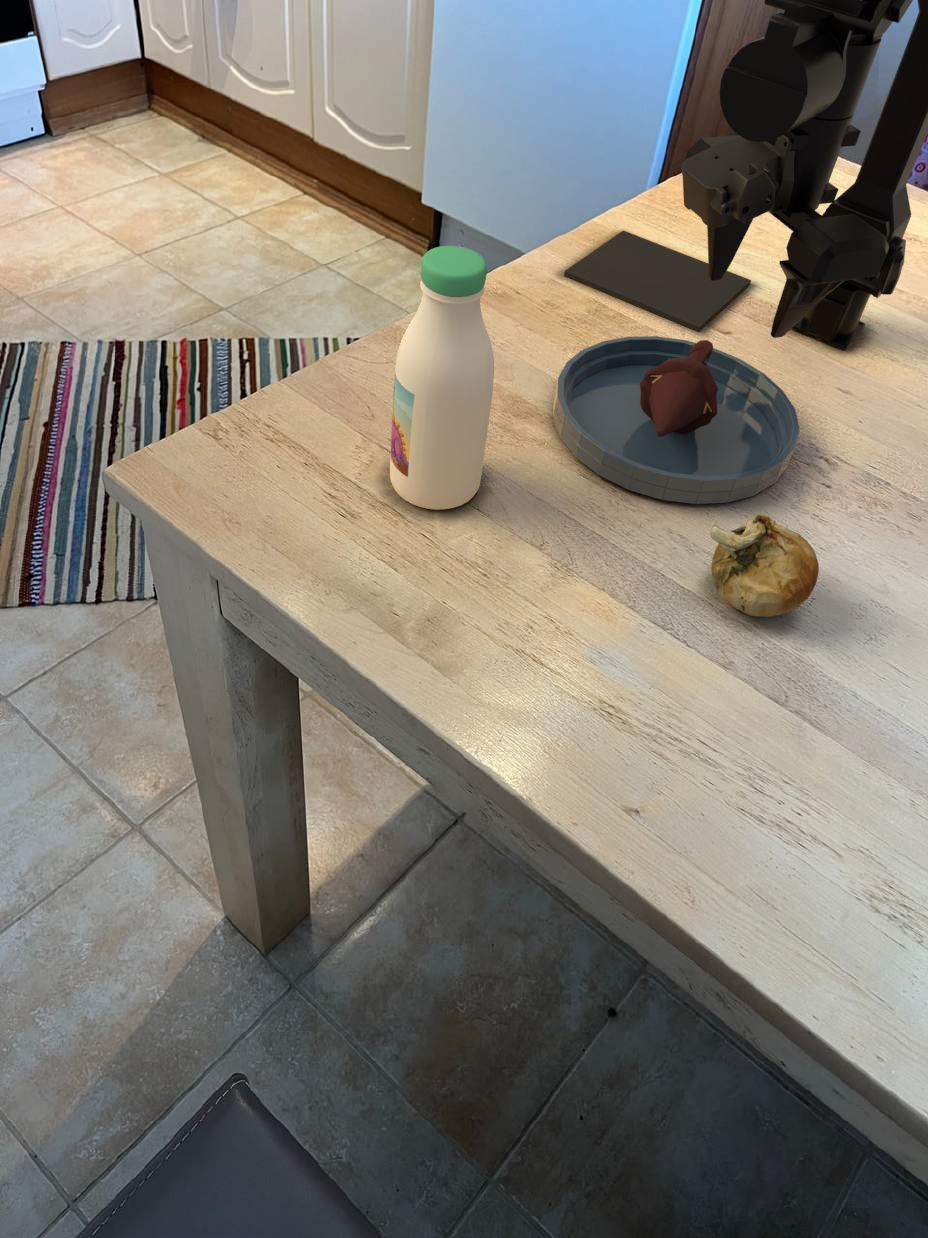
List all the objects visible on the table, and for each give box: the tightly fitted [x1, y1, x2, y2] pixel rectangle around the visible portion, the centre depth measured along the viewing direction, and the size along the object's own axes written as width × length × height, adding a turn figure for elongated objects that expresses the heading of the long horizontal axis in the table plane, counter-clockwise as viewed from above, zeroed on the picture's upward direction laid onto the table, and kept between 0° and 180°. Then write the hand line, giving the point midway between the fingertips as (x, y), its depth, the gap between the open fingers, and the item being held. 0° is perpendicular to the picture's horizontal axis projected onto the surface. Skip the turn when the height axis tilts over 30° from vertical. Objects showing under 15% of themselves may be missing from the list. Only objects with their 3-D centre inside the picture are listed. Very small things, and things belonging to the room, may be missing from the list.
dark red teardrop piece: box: [640, 339, 718, 437], centre depth 86 cm, size 7×7×15 cm
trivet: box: [563, 230, 752, 332], centre depth 108 cm, size 14×17×1 cm
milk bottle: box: [389, 245, 495, 511], centre depth 73 cm, size 8×8×20 cm
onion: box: [709, 513, 820, 617], centre depth 72 cm, size 8×8×8 cm
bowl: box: [552, 335, 801, 505], centre depth 88 cm, size 22×22×3 cm
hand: (744, 306), depth 78 cm, fingers open, 9 cm apart
